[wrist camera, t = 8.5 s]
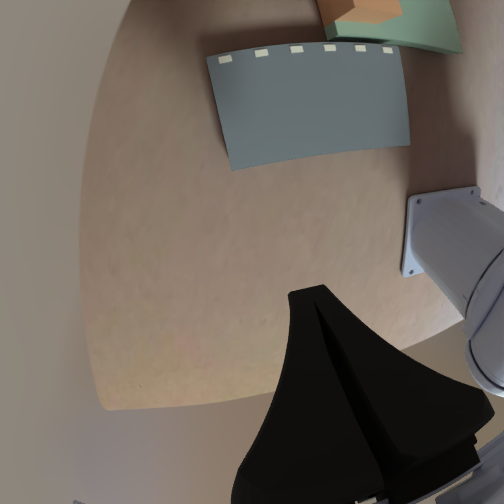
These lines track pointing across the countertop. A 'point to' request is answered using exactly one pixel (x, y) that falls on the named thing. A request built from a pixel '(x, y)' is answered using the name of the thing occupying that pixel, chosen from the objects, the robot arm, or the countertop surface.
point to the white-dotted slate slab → (309, 100)
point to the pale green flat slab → (393, 23)
